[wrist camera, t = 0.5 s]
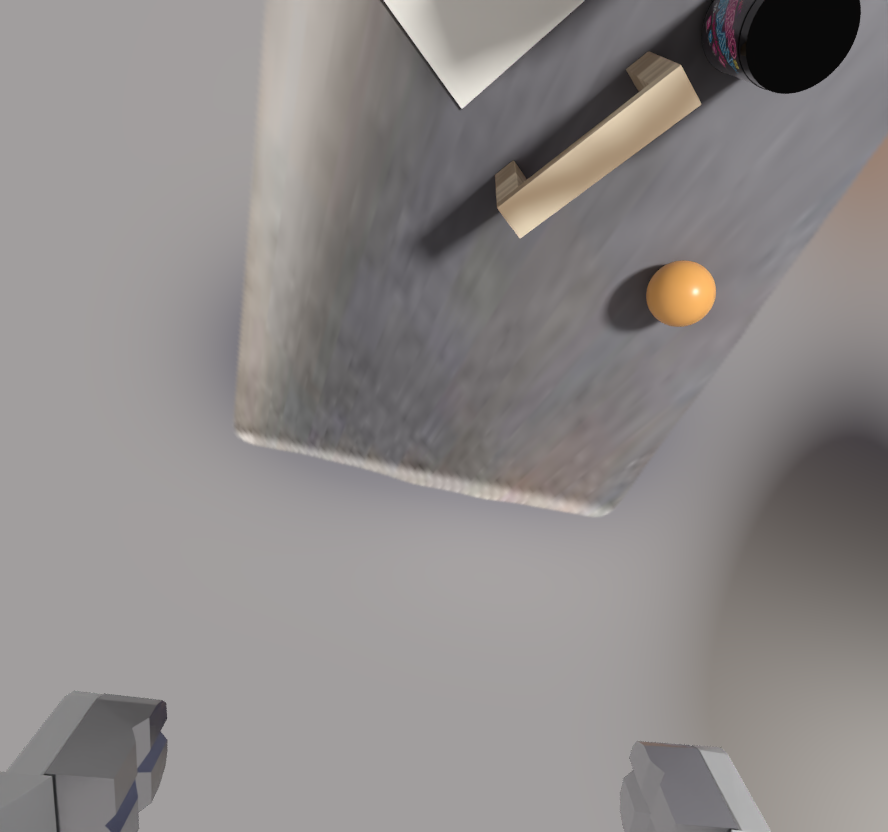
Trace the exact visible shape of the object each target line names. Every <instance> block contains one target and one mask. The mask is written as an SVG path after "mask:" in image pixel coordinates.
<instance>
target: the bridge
mask: <svg viewBox="0 0 888 832" xmlns="http://www.w3.org/2000/svg"><path fill="white" fill-rule="evenodd" d="M626 71H627V72H628V74H629V76H630V78H631V79H632V81H633V83H634V85H635V86H636V88H637V90H638V93H637V94H636V95H635V96H633V97H632V98H631V99H629V100H628V101H627V102H626V103H624V104H623V105H622V106H621V107H619V108H618V109H617V110H615V111H614V112H613V113H612V114H610V115H609V116H608V117H606V118H605V119H604V120H603V121H601V122H600V123H599V124H598V125H596V126H595V127H594V128H592V129H591V130H590V131H589V132H587V133H586V134H585V135H583V136H582V137H581V138H580V139H578V140H577V141H576V142H574V143H573V144H572V145H571V146H569V147H568V148H567V149H566V150H564V151H563V152H562V153H560V154H559V155H558V156H557V157H555V158H554V159H553V160H551V161H550V162H549V163H548V164H546V165H545V166H544V167H543V168H541V169H540V170H539V171H537V172H536V173H535V174H534V175H532V176H531V177H530V178H528V179H526V177H525V176H524V174H523V173H522V171H521V170H520V169H519V167H518V166H517V164H516V163H515V162H514V160H513V161H512V162H510V163H509V164H508V165H507V166H505V167H504V168H503V169H502V170H500V171H499V172H498V173H497V174H495V184H496V200H497V209H498V210H499V211H500V213H501V214H502V215H503V217H504V218H505V219H506V221H507V222H508V223H509V225H510V226H511V227H512V229H513V230H514V231H515V233H516V234H517V235H518V237H519V238H522V237H523V236H524V235H526V234H527V233H528V232H530V231H531V230H532V229H534V228H535V227H536V226H538V225H539V224H540V223H542V222H543V221H544V220H546V219H547V218H549V217H550V216H551V215H553V214H554V213H555V212H557V211H558V210H559V209H561V208H562V207H563V206H565V205H566V204H567V203H569V202H570V201H572V200H573V199H574V198H576V197H577V196H578V195H580V194H581V193H582V192H584V191H585V190H586V189H588V188H589V187H590V186H592V185H593V184H595V183H596V182H597V181H599V180H600V179H601V178H603V177H604V176H605V175H607V174H608V173H609V172H611V171H612V170H613V169H615V168H616V167H618V166H619V165H620V164H622V163H623V162H624V161H626V160H627V159H628V158H630V157H631V156H632V155H634V154H635V153H636V152H638V151H639V150H641V149H642V148H643V147H645V146H646V145H647V144H649V143H650V142H651V141H653V140H654V139H655V138H657V137H658V136H659V135H661V134H662V133H664V132H665V131H666V130H668V129H669V128H670V127H672V126H673V125H674V124H676V123H677V122H678V121H680V120H681V119H682V118H684V117H685V116H686V115H688V114H689V113H691V112H692V111H693V110H695V109H696V108H697V107H699V106H700V105H701V102H700V100H699V98H698V96H697V94H696V93H695V91H694V89H693V87H692V85H691V83H690V81H689V79H688V77H687V75H686V73H685V72H684V70H683V68H682V66H681V65H680V64H678V63H675V62H673V61H671V60H668V59H666V58H663V57H661V56H659V55H656V54H654V53H652V52H649V51H648V52H647V53H646V54H644V55H643V56H642V57H641V58H639V59H638V60H637V61H636V62H634V63H633V64H632V65H631V66H630V67H628V68H627V69H626Z"/></svg>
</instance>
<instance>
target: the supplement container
mask: <svg viewBox="0 0 888 832" xmlns="http://www.w3.org/2000/svg"><path fill="white" fill-rule="evenodd" d="M860 15H861V7H860V0H713V2H712V4H711V5H710V7H709V9H708V12H707V14H706V17H705V20H704V24H703V29H702V44H703V49H704V52H705V55H706V57H707V59H708V60H709V62H710V63H711V64H712V65H713V66H714V67H715V68H716V69H718V70H719V71H721V72H723V73H726V74H729V75H731V76H734V77H737V78H739V79H742V80H745V81H747V82H750V83H752V84H754V85H756V86H758V87H760V88H763V89H766V90H769V91H772V92H776V93H782V94H789V93H796V92H800V91H803V90H806V89H808V88H811V87H813V86H814V85H816V84H818V83H819V82H821V81H822V80H824V79H825V78H826V77H828V76H829V75H830V74H831V73H832V72H833V71H834V70H835V69H836V68H837V67H838V66H839V65H840V63H841V62H842V61H843V60H844V58H845V57H846V55H847V54H848V52H849V50H850V49H851V47H852V45H853V42H854V40H855V38H856V35H857V32H858V28H859V23H860Z"/></svg>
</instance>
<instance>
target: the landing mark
mask: <svg viewBox="0 0 888 832" xmlns="http://www.w3.org/2000/svg"><path fill="white" fill-rule="evenodd" d="M584 1H585V0H384V2H385V3H386V4H387V6H388V7H389V9H390V10H391V11H392V13H393V14H394V16H395V17H396V18H397V20H398V21H399V23H400V24H401V25H402V27H403V28H404V30H405V31H406V32H407V34H408V35H409V36H410V38H411V39H412V41H413V42H414V43H415V45H416V46H417V48H418V49H419V50H420V52H421V53H422V55H423V56H424V57H425V59H426V60H427V61H428V63H429V64H430V66H431V67H432V68H433V70H434V71H435V73H436V74H437V75H438V77H439V78H440V80H441V81H442V82H443V84H444V85H445V87H446V88H447V89H448V91H449V92H450V93H451V95H452V96H453V98H454V99H455V100H456V102H457V103H458V105H459V106H460V107H461V109H462V108H464V107H465V106H466V105H467V104H468V103H469V102H470V101H472V100H473V99H474V98H475V97H476V96H477V95H478V94H479V93H481V92H482V91H483V90H484V89H485V88H486V87H487V86H489V85H490V84H491V83H492V82H493V81H494V80H495V79H496V78H498V77H499V76H500V75H501V74H502V73H503V72H504V71H506V70H507V69H508V68H509V67H510V66H511V65H512V64H513V63H515V62H516V61H517V60H518V59H519V58H520V57H521V56H523V55H524V54H525V53H526V52H527V51H528V50H529V49H530V48H532V47H533V46H534V45H535V44H536V43H537V42H538V41H539V40H541V39H542V38H543V37H544V36H545V35H546V34H547V33H549V32H550V31H551V30H552V29H553V28H554V27H555V26H556V25H558V24H559V23H560V22H561V21H562V20H563V19H564V18H566V17H567V16H568V15H569V14H570V13H571V12H572V11H573V10H575V9H576V8H577V7H578V6H579V5H580V4H581V3H583V2H584Z"/></svg>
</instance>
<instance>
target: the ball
mask: <svg viewBox="0 0 888 832" xmlns="http://www.w3.org/2000/svg"><path fill="white" fill-rule="evenodd" d="M715 296H716V287H715V282H714V279H713V277H712V276H711V274H710V273H709V271H708V270H707V269H705V268H704V267H703V266H702V265H700V264H698V263H695V262H692V261H684V260H682V261H675V262H672V263H669V264H667V265H665V266H663V267H662V268H660V269H659V270H658V271H657V272H656V273H655V274H654V275H653V277H652V278H651V280H650V282H649V284H648V287H647V292H646V300H647V305H648V307H649V310H650V311H651V313H652V314H653V316H654V317H655V318H656V319H658V320H659V321H660V322H662V323H664V324H666V325H669V326H675V327H682V326H688V325H691V324H694V323H696V322H698V321H699V320H701V319H702V318H703V317H704V316H705V315H706V314H707V313H708V312H709V311H710V309H711V308H712V305H713V303H714V300H715Z"/></svg>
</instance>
